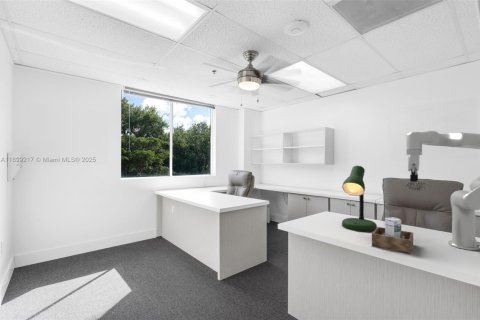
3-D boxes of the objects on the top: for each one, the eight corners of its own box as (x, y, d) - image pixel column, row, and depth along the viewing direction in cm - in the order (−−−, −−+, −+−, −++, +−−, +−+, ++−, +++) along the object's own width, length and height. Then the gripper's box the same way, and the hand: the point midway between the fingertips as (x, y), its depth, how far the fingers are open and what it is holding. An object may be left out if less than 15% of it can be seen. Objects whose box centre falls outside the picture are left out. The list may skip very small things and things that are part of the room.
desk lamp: (369, 237, 147) (369, 166, 147) (333, 230, 162) (333, 165, 162) (379, 226, 170) (379, 165, 170) (347, 221, 185) (347, 165, 185)
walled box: (413, 244, 134) (413, 232, 134) (410, 254, 120) (410, 240, 120) (377, 237, 146) (377, 226, 146) (371, 245, 132) (371, 233, 132)
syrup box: (393, 246, 129) (393, 219, 129) (384, 242, 135) (384, 217, 135) (401, 245, 131) (401, 219, 131) (392, 241, 137) (392, 216, 137)
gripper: (407, 153, 149) (407, 179, 149) (405, 152, 136) (405, 181, 136) (422, 152, 144) (422, 180, 144) (421, 152, 131) (421, 182, 131)
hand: (414, 181), depth 140 cm, fingers open, 9 cm apart
